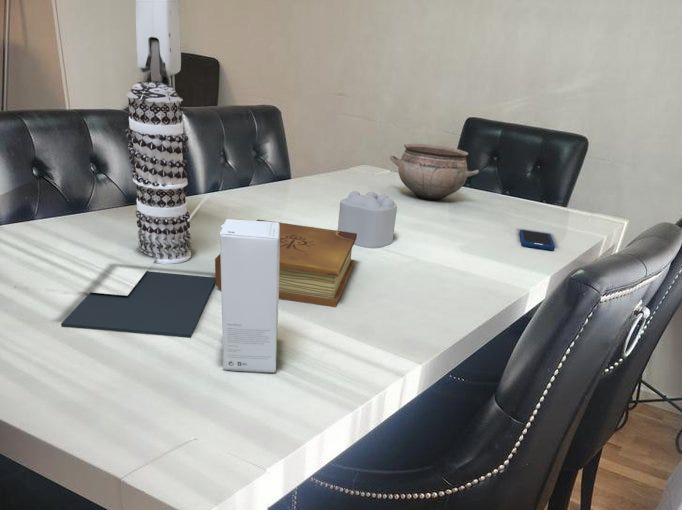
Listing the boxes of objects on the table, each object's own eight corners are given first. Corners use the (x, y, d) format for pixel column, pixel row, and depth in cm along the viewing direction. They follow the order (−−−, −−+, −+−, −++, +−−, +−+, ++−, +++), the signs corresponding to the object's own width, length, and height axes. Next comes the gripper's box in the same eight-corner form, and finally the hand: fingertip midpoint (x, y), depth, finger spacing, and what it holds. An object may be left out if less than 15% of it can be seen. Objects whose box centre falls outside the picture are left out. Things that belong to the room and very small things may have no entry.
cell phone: (521, 245, 144) (522, 242, 144) (519, 232, 155) (519, 228, 155) (554, 250, 143) (555, 247, 143) (549, 236, 155) (550, 233, 154)
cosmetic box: (275, 374, 77) (280, 239, 68) (218, 371, 76) (216, 233, 67) (277, 346, 84) (282, 220, 75) (225, 343, 83) (224, 215, 74)
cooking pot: (376, 194, 176) (381, 144, 169) (395, 185, 191) (401, 139, 184) (466, 211, 170) (475, 160, 164) (478, 200, 186) (487, 153, 179)
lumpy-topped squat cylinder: (330, 238, 132) (334, 193, 127) (359, 228, 142) (363, 186, 137) (376, 250, 128) (382, 203, 124) (402, 238, 138) (408, 195, 134)
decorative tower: (142, 265, 105) (125, 89, 89) (133, 245, 111) (116, 76, 96) (198, 263, 108) (192, 93, 93) (186, 243, 115) (178, 81, 99)
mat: (61, 326, 82) (61, 323, 81) (113, 270, 101) (113, 267, 101) (190, 337, 83) (190, 334, 83) (216, 280, 103) (216, 277, 103)
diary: (252, 251, 118) (253, 218, 115) (353, 266, 117) (357, 233, 114) (215, 289, 99) (214, 251, 96) (335, 307, 98) (339, 269, 95)
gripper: (142, -18, 99) (151, 118, 109) (117, -26, 87) (130, 128, 97) (192, -11, 100) (197, 123, 110) (174, -18, 88) (181, 134, 98)
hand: (165, 125), depth 104 cm, fingers closed
